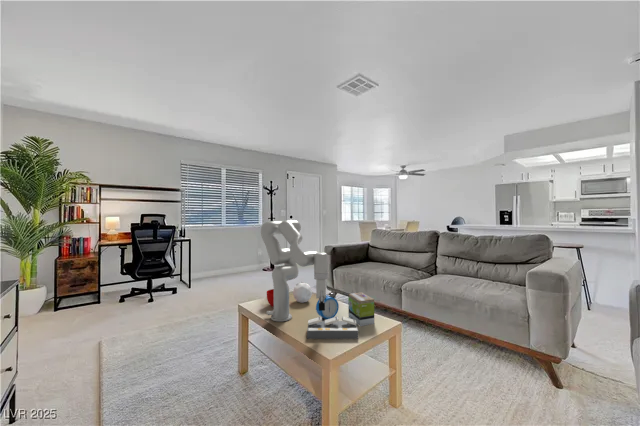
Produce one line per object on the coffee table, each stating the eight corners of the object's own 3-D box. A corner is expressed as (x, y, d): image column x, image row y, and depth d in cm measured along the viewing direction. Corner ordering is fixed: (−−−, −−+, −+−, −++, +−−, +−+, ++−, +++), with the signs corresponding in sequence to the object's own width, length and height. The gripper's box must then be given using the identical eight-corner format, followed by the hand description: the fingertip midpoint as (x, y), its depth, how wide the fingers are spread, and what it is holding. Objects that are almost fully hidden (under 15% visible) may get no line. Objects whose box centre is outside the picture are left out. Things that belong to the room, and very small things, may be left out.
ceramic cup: (277, 300, 204) (277, 286, 204) (288, 306, 190) (288, 291, 190) (260, 303, 196) (260, 289, 196) (271, 310, 183) (271, 295, 183)
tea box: (347, 317, 171) (347, 293, 171) (362, 315, 174) (362, 291, 174) (359, 326, 157) (359, 300, 157) (375, 324, 160) (375, 298, 160)
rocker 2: (325, 325, 147) (324, 322, 147) (325, 322, 151) (324, 319, 151) (338, 321, 147) (338, 319, 147) (338, 318, 152) (337, 316, 152)
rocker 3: (342, 321, 147) (343, 319, 147) (341, 318, 152) (342, 316, 152) (355, 325, 147) (356, 322, 147) (354, 322, 152) (355, 319, 152)
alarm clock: (320, 321, 163) (320, 296, 163) (315, 318, 169) (315, 293, 169) (339, 317, 170) (339, 293, 170) (333, 314, 175) (333, 290, 175)
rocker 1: (308, 325, 147) (307, 322, 147) (308, 322, 151) (308, 319, 151) (322, 321, 147) (321, 319, 147) (321, 318, 151) (321, 316, 151)
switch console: (307, 338, 141) (307, 328, 141) (308, 328, 154) (308, 319, 154) (358, 338, 141) (358, 329, 141) (355, 328, 154) (355, 319, 154)
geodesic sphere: (292, 298, 189) (304, 280, 193) (284, 293, 201) (295, 276, 205) (308, 308, 194) (319, 291, 199) (299, 303, 207) (310, 286, 211)
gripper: (314, 273, 157) (315, 305, 156) (314, 279, 142) (314, 315, 141) (327, 272, 157) (328, 305, 156) (328, 278, 142) (329, 314, 141)
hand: (321, 310), depth 149 cm, fingers closed
